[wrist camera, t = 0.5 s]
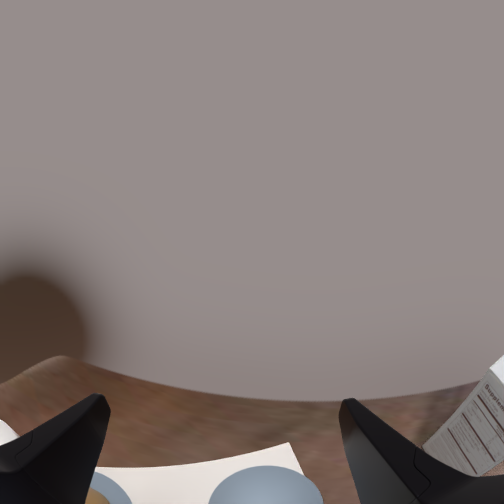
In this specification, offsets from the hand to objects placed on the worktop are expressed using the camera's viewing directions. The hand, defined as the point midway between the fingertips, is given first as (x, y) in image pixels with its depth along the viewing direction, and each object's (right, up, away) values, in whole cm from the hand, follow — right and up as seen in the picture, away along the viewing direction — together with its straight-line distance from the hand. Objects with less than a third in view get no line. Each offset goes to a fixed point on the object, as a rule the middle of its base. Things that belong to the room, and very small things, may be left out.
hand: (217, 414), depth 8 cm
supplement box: (+22, -15, +6) cm, 27 cm away
